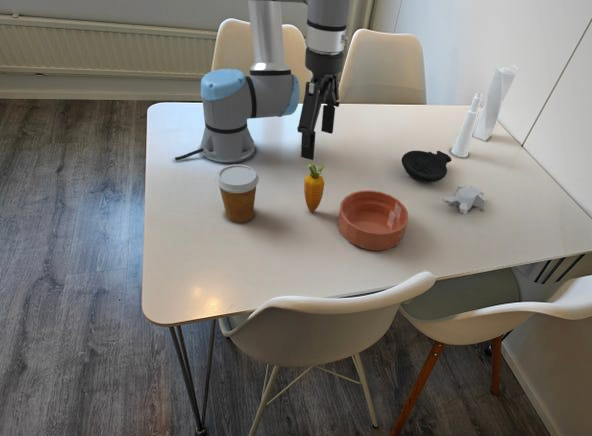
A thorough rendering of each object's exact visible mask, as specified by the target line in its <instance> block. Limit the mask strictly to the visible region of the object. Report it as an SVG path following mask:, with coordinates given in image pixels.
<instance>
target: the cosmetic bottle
mask: <svg viewBox="0 0 592 436" xmlns="http://www.w3.org/2000/svg"><path fill="white" fill-rule="evenodd" d="M482 101H483V94H482V93H481V92H475V95H474V96H473V98H472V101H471V105H470V108H469V109H468V110H467V112H466V114H465V117H464V120H463V123H462V125H461V128H460V130H459V133H458V135H457V138H456V140H455V142H454V144H453V146H452V148H451V149H450V151H451V154H452V155H453V156H455V157H457V158H466V157H468V156H469V152H470V151H469V150H470V145H471V141H472V137H473V133H474V130H475V127H476V124H477V121H478V118H479V115H480V112H479V109H480V107H481V104H482Z"/></svg>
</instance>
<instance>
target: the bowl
mask: <svg viewBox="0 0 592 436" xmlns="http://www.w3.org/2000/svg"><path fill="white" fill-rule="evenodd" d="M408 222H409V211H408V210H407V207H406V206H405V205H404V204H403V203H402V202H401V200H399V199H398V198H396V197H394V196H393V195H391V194H389V193H385V192H383V191H379V190H378V191H377V190H370V189H367V190H357V191H354V192H351V193H349V194H347V195H346V196H344V198H343V199H342V200H341V202H340V205H339V214H338V220H337V227H338V230H339V233H340V234H341V235H342V237H344V239H345V240H346V241H348V242H350V243H351V244H353V245H354V246H357V247H359V248H362V249H365V250H372V251H381V250H388V249H391V248H393V247H396V246H397V245H398V244H399V243H400V242H402V240H403V238H404V237H405V234H406V230H407V226H408V224H409V223H408Z"/></svg>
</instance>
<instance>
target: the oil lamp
mask: <svg viewBox="0 0 592 436" xmlns="http://www.w3.org/2000/svg"><path fill="white" fill-rule="evenodd" d="M451 162H452V158H451V156H450V155H449V154H447V153H445V152H443V151H441V150H436V153H433V152H432V151H423V150H410V151H407V152H405V153H404V154H403V155H402V157H401V164H402V167H403V169H404V171H405V172H406V174H407V175H409V176H410V178H412V179H414V180H416V181H419V182H422V183H426V184H427V183H428V184H429V183H436V182H439V181H441V180H442V179H444V178H445V177H446V176H447V174H448V167H447V165H448V163H451Z"/></svg>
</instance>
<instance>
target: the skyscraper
mask: <svg viewBox="0 0 592 436" xmlns="http://www.w3.org/2000/svg"><path fill="white" fill-rule="evenodd" d="M511 68H516V71H515V73H514V72H512V71H511ZM518 72H519V67H518V66H516V65H514V64H513V65H510V66H509V67H502V68H500V67H498V66H496V67H495V68H494V70H493V73H492V76H491V79H490V82H489V86H488V90H487V94H486V100H485V102H484V104H483V106H482V109H481V110H480V112H479V115H478V117H477V121H476V124H475V128H474V131H473V134H472V137H475V138H477V139H480V140H483V141H484V142H486V141H487V140H488V139H489V138H490V137H491V135H492V133H493V131H494V129H495V127H496V125H497V121H498V118H499V115H500V112H501V107H502V103H503V101H504V99H505V98H506V96H507V94H508V92H509V90H510V88H511V87H512V84H513V82H514V79H515V77H516V75H517V74H518Z"/></svg>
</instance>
